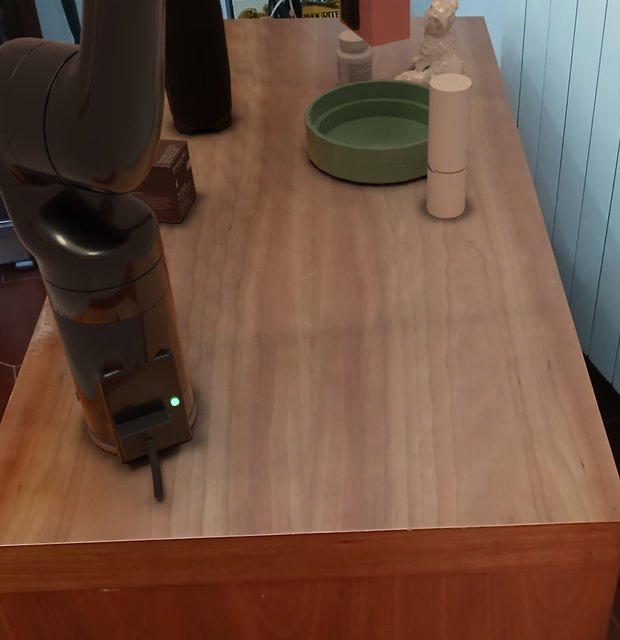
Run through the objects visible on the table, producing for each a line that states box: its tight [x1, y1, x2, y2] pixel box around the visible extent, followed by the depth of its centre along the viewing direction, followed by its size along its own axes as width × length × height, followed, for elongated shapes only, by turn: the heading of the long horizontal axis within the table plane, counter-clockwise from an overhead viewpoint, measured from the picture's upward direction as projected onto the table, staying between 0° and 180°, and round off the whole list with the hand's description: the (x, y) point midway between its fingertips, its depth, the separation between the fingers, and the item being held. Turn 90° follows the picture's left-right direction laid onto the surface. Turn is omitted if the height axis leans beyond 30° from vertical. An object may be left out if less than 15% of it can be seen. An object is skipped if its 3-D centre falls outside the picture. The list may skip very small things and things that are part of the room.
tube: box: [426, 73, 473, 219], centre depth 99 cm, size 4×4×15 cm
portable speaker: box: [165, 0, 233, 135], centre depth 116 cm, size 9×9×20 cm
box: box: [131, 138, 197, 224], centre depth 104 cm, size 6×6×7 cm
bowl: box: [303, 78, 430, 185], centre depth 113 cm, size 18×18×5 cm
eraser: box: [338, 0, 411, 48], centre depth 99 cm, size 8×4×5 cm, turn 25°
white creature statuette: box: [394, 0, 465, 87], centre depth 124 cm, size 10×9×12 cm
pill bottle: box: [336, 29, 374, 86], centre depth 124 cm, size 5×5×8 cm
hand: (374, 22), depth 100 cm, fingers closed on eraser, 4 cm apart
